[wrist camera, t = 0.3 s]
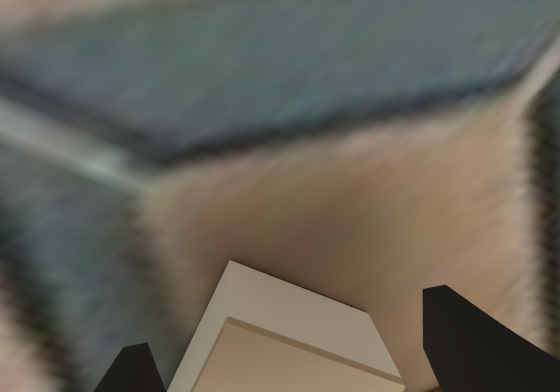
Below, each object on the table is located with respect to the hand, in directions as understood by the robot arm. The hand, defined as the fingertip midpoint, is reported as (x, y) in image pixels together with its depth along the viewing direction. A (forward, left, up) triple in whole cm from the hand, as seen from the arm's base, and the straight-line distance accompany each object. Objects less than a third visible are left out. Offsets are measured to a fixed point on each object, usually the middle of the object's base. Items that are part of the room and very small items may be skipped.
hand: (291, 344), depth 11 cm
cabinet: (-8, -3, -10) cm, 13 cm away
